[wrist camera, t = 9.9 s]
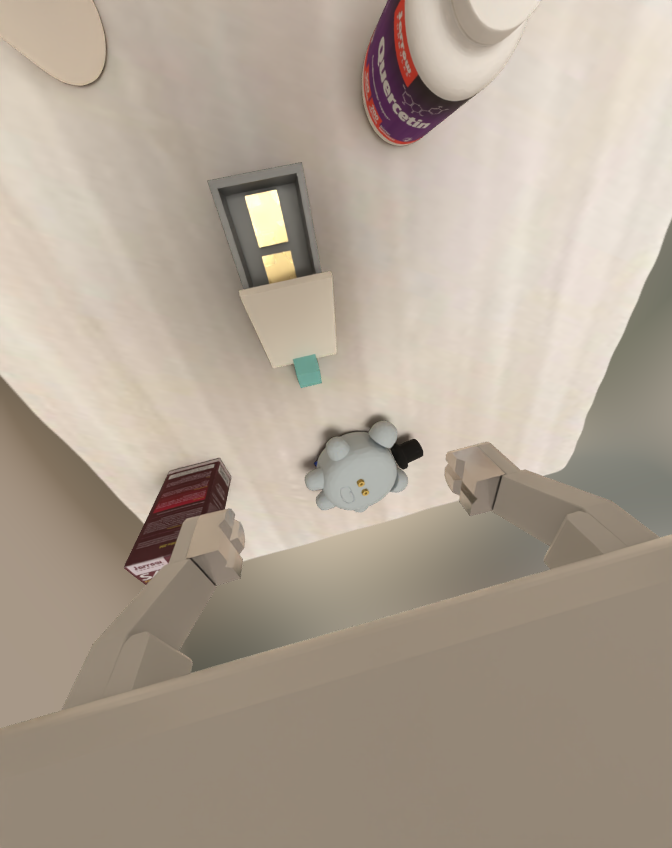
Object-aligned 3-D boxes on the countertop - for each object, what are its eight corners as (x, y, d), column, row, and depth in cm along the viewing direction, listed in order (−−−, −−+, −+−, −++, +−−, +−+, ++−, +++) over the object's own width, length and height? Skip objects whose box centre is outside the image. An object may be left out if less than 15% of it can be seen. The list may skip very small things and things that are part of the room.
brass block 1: (247, 200, 26) (244, 196, 24) (276, 194, 26) (276, 189, 25) (260, 247, 28) (259, 247, 27) (287, 242, 29) (288, 241, 27)
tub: (217, 191, 26) (207, 180, 22) (298, 175, 27) (301, 162, 23) (256, 310, 32) (253, 317, 29) (321, 295, 33) (326, 301, 29)
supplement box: (183, 490, 45) (144, 587, 32) (168, 470, 42) (119, 567, 29) (233, 477, 46) (215, 568, 32) (221, 456, 43) (196, 546, 30)
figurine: (322, 505, 53) (411, 464, 54) (333, 542, 46) (436, 494, 47) (287, 442, 43) (397, 394, 45) (295, 476, 36) (425, 418, 38)
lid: (238, 285, 25) (243, 318, 23) (328, 266, 25) (339, 296, 24) (275, 369, 38) (280, 393, 36) (335, 355, 38) (342, 378, 37)
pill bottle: (341, 91, 24) (401, -69, 12) (404, -18, 22) (560, -356, 10) (398, 172, 28) (487, 111, 16) (457, 87, 25) (617, -61, 13)
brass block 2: (263, 256, 29) (261, 256, 27) (289, 250, 29) (290, 250, 27) (273, 295, 31) (273, 298, 29) (298, 290, 31) (300, 292, 29)
